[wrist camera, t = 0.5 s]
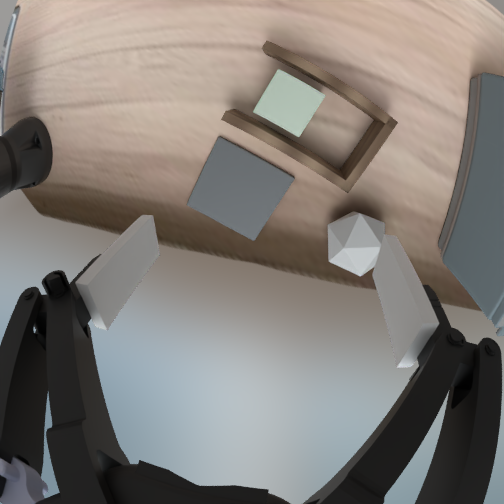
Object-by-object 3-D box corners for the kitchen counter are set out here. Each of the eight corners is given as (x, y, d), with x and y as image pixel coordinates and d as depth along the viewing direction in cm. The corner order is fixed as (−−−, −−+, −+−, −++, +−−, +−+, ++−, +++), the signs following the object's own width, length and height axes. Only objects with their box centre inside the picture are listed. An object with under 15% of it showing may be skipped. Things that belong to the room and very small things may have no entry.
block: (259, 109, 33) (252, 111, 28) (280, 73, 30) (278, 68, 25) (298, 131, 34) (298, 137, 29) (320, 95, 31) (325, 95, 26)
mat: (187, 203, 42) (186, 204, 42) (219, 136, 36) (218, 137, 35) (254, 239, 44) (253, 241, 44) (294, 177, 38) (294, 178, 37)
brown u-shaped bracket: (230, 116, 34) (221, 119, 30) (270, 47, 28) (266, 40, 24) (342, 181, 37) (347, 193, 33) (385, 118, 31) (397, 122, 26)
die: (313, 216, 41) (316, 280, 38) (352, 188, 33) (362, 262, 30) (353, 228, 44) (358, 286, 41) (392, 206, 37) (403, 271, 33)
